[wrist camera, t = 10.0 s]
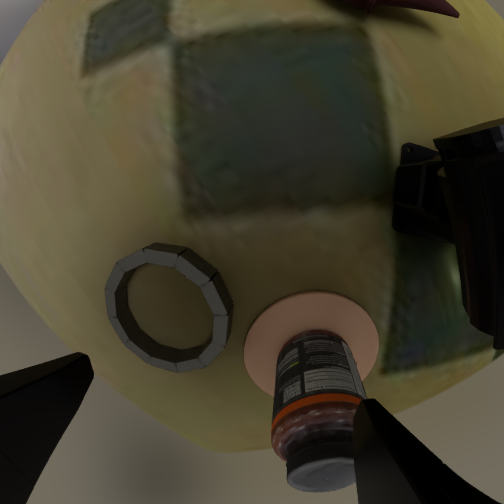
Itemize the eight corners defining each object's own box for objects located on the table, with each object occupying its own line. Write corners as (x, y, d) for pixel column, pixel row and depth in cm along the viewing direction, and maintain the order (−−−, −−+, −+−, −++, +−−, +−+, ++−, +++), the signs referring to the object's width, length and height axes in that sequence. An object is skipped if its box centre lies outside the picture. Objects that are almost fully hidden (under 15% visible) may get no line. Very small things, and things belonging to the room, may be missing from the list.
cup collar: (238, 255, 20) (233, 263, 18) (226, 368, 22) (222, 383, 20) (116, 236, 21) (102, 241, 19) (123, 341, 23) (112, 352, 21)
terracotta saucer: (393, 299, 19) (396, 303, 18) (353, 401, 22) (354, 407, 21) (253, 280, 20) (252, 284, 19) (239, 389, 23) (237, 395, 22)
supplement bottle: (331, 390, 21) (345, 501, 10) (266, 375, 21) (249, 492, 10) (363, 336, 19) (408, 451, 8) (292, 316, 20) (293, 442, 9)
